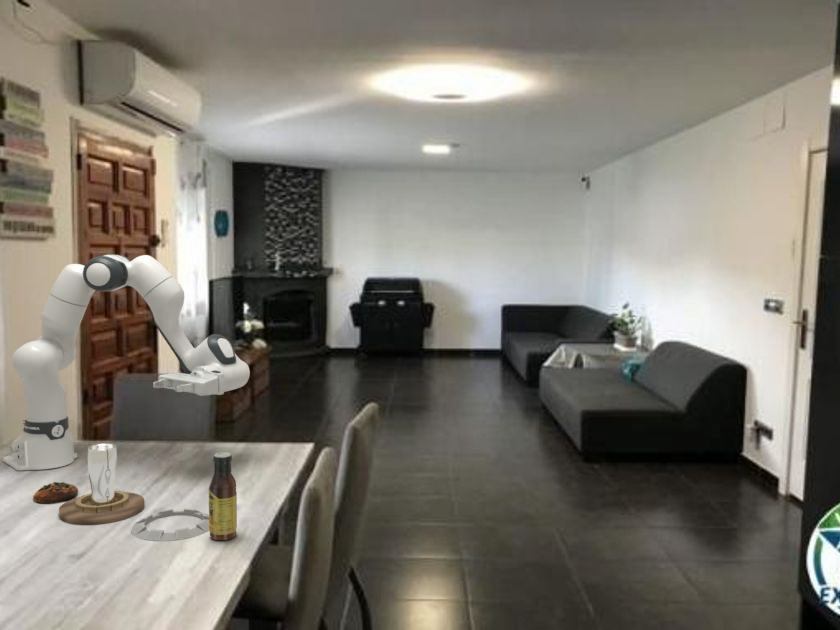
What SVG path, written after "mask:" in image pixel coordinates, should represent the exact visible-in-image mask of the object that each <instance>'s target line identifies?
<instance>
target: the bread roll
mask: <svg viewBox="0 0 840 630" xmlns="http://www.w3.org/2000/svg"><path fill="white" fill-rule="evenodd" d="M78 493H79V488H78V487H77V486H76V485H74V484H71V483H68V482H65V481H62V482H58V481H54V482H52V483H49V484H45V485H43V486H42V487H40V488H39V489H38V490H37V491H36V492H35V493H34V494H33V496H32V498H33V501H34V502H36V503H39V504H41V503H42V504H58V503H66V502H67V501H70V500H72V499H74V498H77V497H78Z"/></svg>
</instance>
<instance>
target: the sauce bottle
mask: <svg viewBox="0 0 840 630" xmlns="http://www.w3.org/2000/svg"><path fill="white" fill-rule="evenodd" d="M232 459H233V458H232V453H231V452H225V451H222V452H216V453H214V455H213V463H214V467H213V468H214V471H213V476H212V478H211V481H210V484H209V487H208V514H209V531H208V532H209V536H210V538H211V539H212V540H214V541H228V540H231V539H233V538H234V537H235V536H236V535H237V525H238V524H237V523H238V522H237V521H238V520H237V519H238V517H237V515H238V513H237V507H238V506H237V505H238V504H237V503H238V502H237V501H238V500H237V498H238V497H237V492H238V491H237V481H236V479H235V477H234V475H233V474H232Z"/></svg>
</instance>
